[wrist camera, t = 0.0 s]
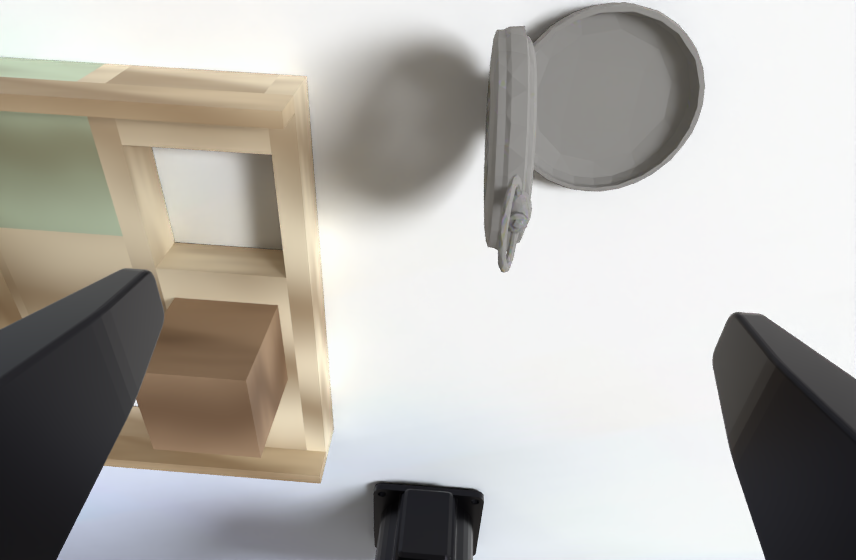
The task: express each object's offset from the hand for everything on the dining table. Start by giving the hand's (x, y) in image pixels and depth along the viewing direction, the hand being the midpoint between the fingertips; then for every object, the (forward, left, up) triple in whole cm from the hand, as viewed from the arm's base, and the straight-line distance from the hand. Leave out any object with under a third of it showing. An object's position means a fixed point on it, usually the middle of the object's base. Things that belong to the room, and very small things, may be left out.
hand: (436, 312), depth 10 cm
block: (-13, +9, -13) cm, 20 cm away
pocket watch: (-1, -4, -15) cm, 15 cm away
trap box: (-11, +12, -15) cm, 22 cm away
